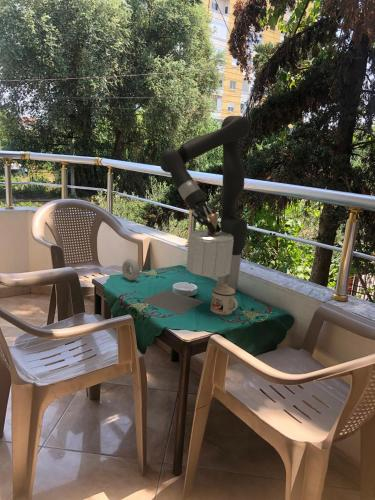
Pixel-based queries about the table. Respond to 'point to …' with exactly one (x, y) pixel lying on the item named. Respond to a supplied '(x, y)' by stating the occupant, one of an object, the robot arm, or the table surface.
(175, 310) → the mat
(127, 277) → the donut
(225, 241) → the cylinder
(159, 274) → the table surface
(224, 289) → the teacup with lid
